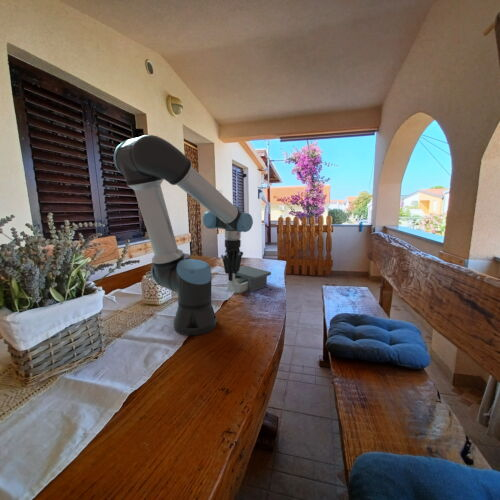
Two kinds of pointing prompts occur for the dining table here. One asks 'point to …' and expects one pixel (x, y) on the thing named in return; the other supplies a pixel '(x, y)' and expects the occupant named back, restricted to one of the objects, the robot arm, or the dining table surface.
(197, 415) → the dining table surface
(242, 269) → the grey drawer cabinet
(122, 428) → the dining table surface
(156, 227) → the robot arm
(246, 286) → the pale green open box
